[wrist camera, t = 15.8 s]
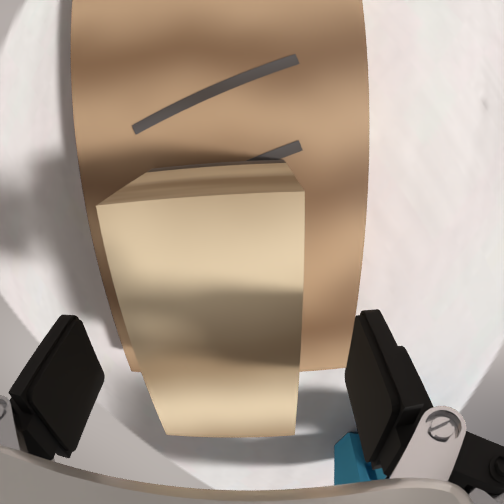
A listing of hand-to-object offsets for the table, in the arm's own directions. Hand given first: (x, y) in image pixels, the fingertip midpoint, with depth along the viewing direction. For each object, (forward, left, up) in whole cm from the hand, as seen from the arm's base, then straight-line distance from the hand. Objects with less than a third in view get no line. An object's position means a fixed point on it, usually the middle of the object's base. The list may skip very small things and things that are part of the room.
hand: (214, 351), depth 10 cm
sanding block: (0, 0, -7) cm, 7 cm away
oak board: (-4, 0, -9) cm, 10 cm away
